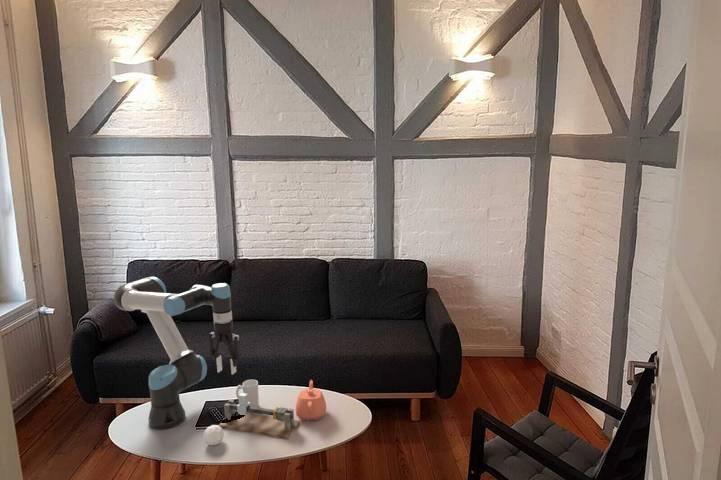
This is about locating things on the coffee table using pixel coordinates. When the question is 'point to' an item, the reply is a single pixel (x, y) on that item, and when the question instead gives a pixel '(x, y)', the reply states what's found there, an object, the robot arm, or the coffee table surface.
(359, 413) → the coffee table surface
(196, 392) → the coffee table surface
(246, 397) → the white stepped block
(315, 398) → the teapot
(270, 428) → the din rail terminal board
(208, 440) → the geometric ball
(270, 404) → the coffee table surface
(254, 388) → the mug
